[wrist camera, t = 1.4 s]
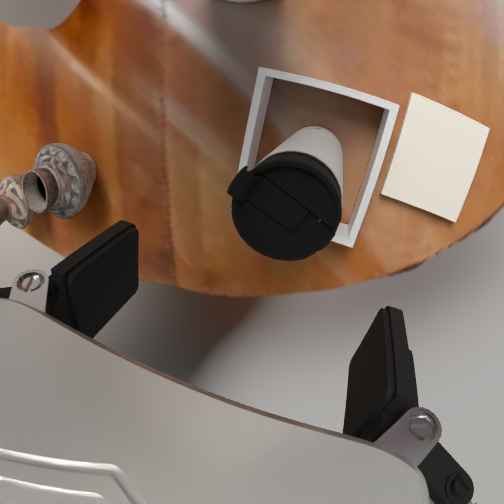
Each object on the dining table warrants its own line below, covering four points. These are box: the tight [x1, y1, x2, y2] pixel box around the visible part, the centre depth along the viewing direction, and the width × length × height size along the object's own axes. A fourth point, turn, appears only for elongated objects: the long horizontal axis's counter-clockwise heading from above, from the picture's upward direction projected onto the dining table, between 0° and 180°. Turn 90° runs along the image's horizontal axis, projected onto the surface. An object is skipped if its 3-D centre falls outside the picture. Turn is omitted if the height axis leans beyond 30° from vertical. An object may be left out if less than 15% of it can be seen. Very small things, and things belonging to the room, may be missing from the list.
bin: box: [238, 67, 399, 248], centre depth 32 cm, size 16×14×4 cm
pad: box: [380, 92, 489, 222], centre depth 30 cm, size 12×10×1 cm
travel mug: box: [227, 126, 343, 261], centre depth 26 cm, size 6×7×20 cm
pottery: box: [0, 143, 97, 229], centre depth 41 cm, size 11×25×12 cm, turn 105°
